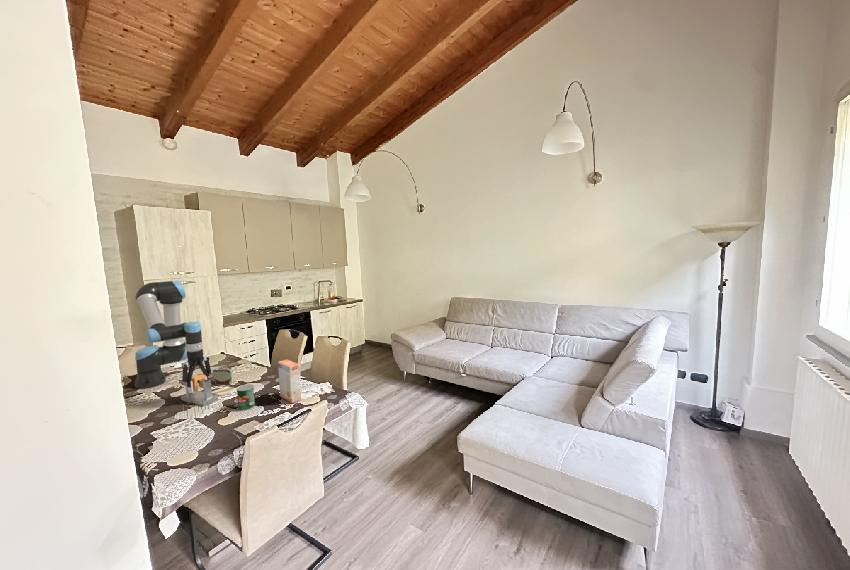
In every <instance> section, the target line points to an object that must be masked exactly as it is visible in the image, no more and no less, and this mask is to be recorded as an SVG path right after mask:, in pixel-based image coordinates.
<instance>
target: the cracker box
mask: <svg viewBox="0 0 850 570" xmlns="http://www.w3.org/2000/svg"><path fill="white" fill-rule="evenodd" d="M277 367H278V382H279V383H278V385H279V397H280V398H282V399H284V400H286V401H287V402H288V403H290V404H295V403H297V402H300V401H302V394H301V390H302V389H301V375H300V364H299V363H296V362H295V361H292V360H290V359H283V360H280V361H278V362H277Z"/></svg>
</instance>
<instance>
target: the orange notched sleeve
mask: <svg viewBox="0 0 850 570" xmlns="http://www.w3.org/2000/svg"><path fill="white" fill-rule="evenodd" d="M200 379H205V380H206V375H204V374H203V373H198V374H194V375H192V378H191V381H192V382H193V391H195V392H197V391H199V389H198V388H201V389H203V384H199V383H197V380H200Z"/></svg>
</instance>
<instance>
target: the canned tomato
mask: <svg viewBox="0 0 850 570" xmlns="http://www.w3.org/2000/svg"><path fill="white" fill-rule="evenodd" d="M236 389H237V390H236V392H237V395H236V396H237V407H238V410H239V411H242V412H243V411H248V410H251V409H253V408H254V407H255V406H256V404H255V389H254V385H253V384H243V385H240V386H238V387H237V388H236Z"/></svg>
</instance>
